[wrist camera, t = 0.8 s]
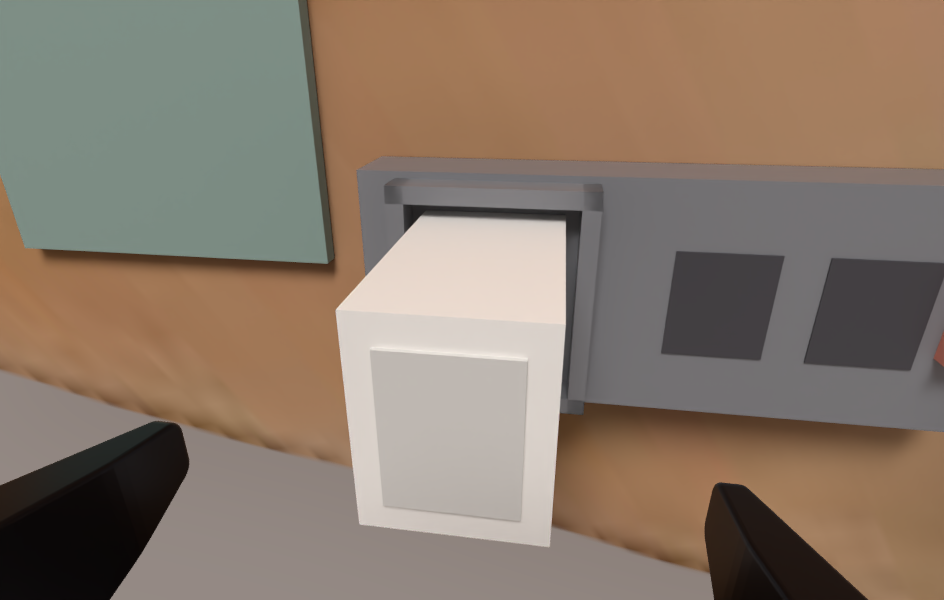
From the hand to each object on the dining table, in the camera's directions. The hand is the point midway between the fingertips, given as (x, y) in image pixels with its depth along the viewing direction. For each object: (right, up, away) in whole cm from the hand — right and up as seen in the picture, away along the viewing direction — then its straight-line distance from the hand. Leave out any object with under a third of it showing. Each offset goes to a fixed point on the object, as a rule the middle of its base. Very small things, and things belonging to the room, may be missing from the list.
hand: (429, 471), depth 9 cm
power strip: (+7, +4, +9) cm, 12 cm away
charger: (+1, +3, +8) cm, 8 cm away
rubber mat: (-10, +10, +9) cm, 17 cm away
